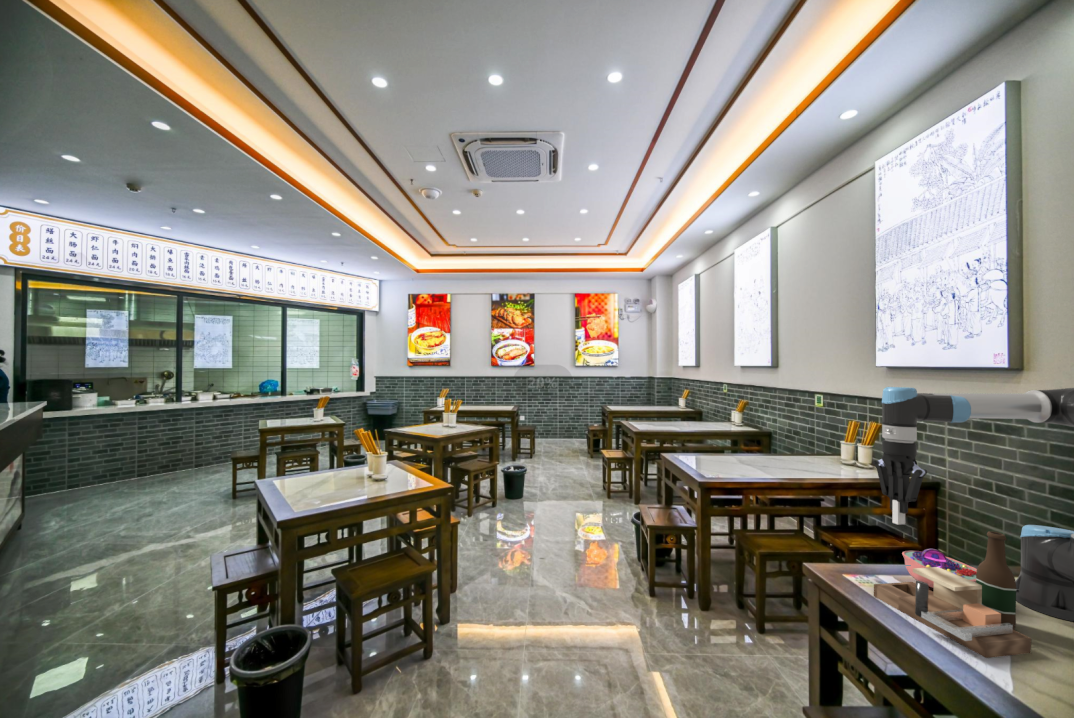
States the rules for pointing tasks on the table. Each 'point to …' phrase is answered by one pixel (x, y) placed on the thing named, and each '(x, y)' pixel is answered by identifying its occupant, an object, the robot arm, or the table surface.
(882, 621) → the table surface
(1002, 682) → the table surface
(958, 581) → the tunnel
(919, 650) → the table surface
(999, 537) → the beer bottle
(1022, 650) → the base
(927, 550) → the cell model
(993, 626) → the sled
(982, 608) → the block
